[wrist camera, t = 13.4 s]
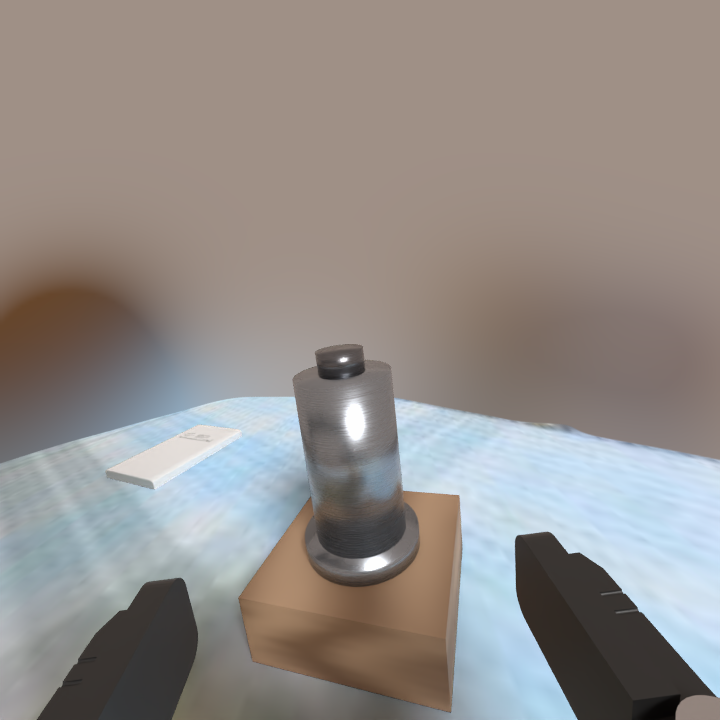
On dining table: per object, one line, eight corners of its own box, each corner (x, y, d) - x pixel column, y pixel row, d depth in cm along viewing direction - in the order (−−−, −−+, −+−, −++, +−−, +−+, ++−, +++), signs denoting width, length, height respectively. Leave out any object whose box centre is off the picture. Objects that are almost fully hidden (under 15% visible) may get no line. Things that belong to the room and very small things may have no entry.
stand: (252, 661, 19) (238, 597, 18) (326, 531, 29) (319, 484, 28) (451, 712, 16) (445, 638, 15) (462, 547, 25) (459, 495, 25)
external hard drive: (108, 482, 42) (199, 434, 52) (156, 494, 38) (243, 440, 49) (104, 469, 41) (196, 423, 52) (152, 480, 37) (240, 428, 48)
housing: (286, 576, 20) (247, 368, 17) (332, 501, 25) (308, 339, 23) (408, 596, 17) (385, 364, 15) (427, 511, 23) (413, 333, 21)
